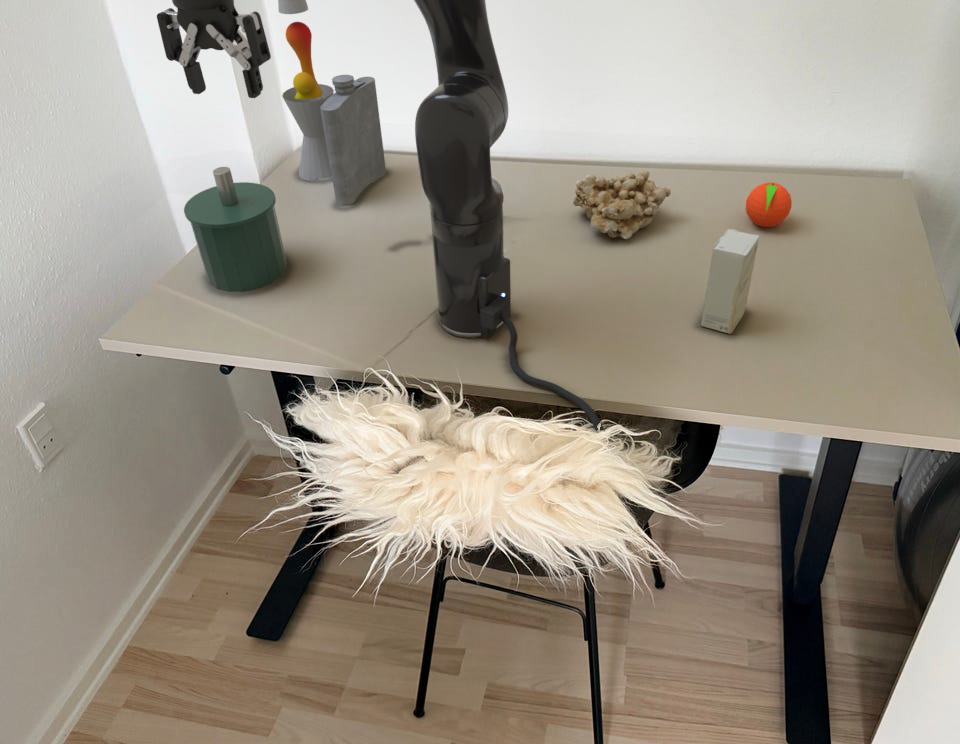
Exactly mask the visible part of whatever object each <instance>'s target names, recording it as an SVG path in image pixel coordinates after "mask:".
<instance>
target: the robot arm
mask: <svg viewBox="0 0 960 744" xmlns="http://www.w3.org/2000/svg"><path fill="white" fill-rule="evenodd" d="M171 2H172V4H173V6H174V7H175V8H176V10H177V11H176V10H175V9H174V8H172V7H169V8H167V9H164V10H163V11H161V12H158V13H157V14H156V19H157V23H158V28H159V29H158V30H159V32H160V36H161V41H162V45H163V49H164V54H165V57H166V59H167V60H168V61H170V62H172V61H175V62H178V63H179V64H180V66H182V68H183V72H184V75H185V78H186V82H187V86H188V87H189V89H190V90H191V92H192V93H193V94H194V95H200V94H203V92H205V91H206V89H207V86H206V82H205V78H204V75H203V71H202V66H201V63H200V61H197V60H198V59H199V55H200V52H201V50H205V51H206V50H210V49H212V50H215V51H225V52H226V53H227V55H228V56H230V57H231V58H234V59H235V60H236V61H237V63H238V64H239V65H240V66H241V67H242V68H243V69H242V71H241V73H242V76H243V81H244V85H245V88H246V92H247V97H248V98H249V99H256V98H258V97H259V96H260V95H261V94H262V91H263V90H264V84H263V79H262V75H261V71H260V66H262V65H263V64H265V63H267V62H268V61H270V60H271V58H272V55H271V52H270V47H269V43H268V40H267V35H266V32H265V29H264V25H263V20H262V16H261V14H260V13H259V12H258V11H255V10H254V11H252V12H250V13H248V14H247V13H245V14H239V12H238V11H237V9H236V6H235V0H171ZM413 2H414V3H415V5H416V7H417V9H418V11H419V13H420V15H422V17H423V20H424V21H425V24H426V26H427V29H428V31H429V35H430V39H431V42H432V47H433V52H434V58H435V66H436V71H437V82H438V85H437V87H436V88H435V89H434V90H433V91H431V92H430V93H429V94H428V95H427V96H426V97H425V98H424V99H423V100H422V101H421V103H420V104H419V106H418V108H417V111H416V116H415V120H414V137H415V146H416V153H417V162H418V169H419V174H420V183H421V186H422V187H421V188H422V191H423V193H424V195H425V197H426V199H427V201H428V203H429V212H430V224H431V237H432V238H431V239H432V247H433V249H432V250H433V259H434V260H433V261H434V271H435V272H434V273H435V283H436V294H437V306H438V323H439V325H440V327H441V328H442V329H443V330H444V331H445V332H447V333H448V334H450V335H452V336H456V337H460V338H465V339H466V338H467V339H472V338H484V339H486V340H488V339H490V338H491V337H492V336H494V334H495V333H497V331H499V330H500V329H501V328H502V327H503V326H504V325H505V327H506V328H507V330H508V331H509V336H510V337H509V339H510V340H509V344H508V354H509V355H508V356H509V363H510V367H511V369H512V371H513V372H514V374H515V375H516V376H517V377H518V378H520V379H521V380H522V381H524V382H526V383H528V384H530V385H533V386H536V387H541V388H544V389H546V390H550V391H552V392H554V393H555V394H558V395H559V396H561V397H563V398H565V399H566V400H568V401H569V402H571V403H573V404H575V405H576V406H577V407H579V408H580V410H582V411H583V412H584V413H585V415H586V416H587V418H588V419H589V421H590V422H591V424H592V426H593V427H594V430H595V431H596V432H597V430H598V428H597V425H598V424H599V423H600V422H601V420H600V418H599V417H598V415H597V414H596V412H595V411H594V409H593V408H592V407H591V406H590V405H589V404H588V403H587V402H586V401H585V400H583V398H581V397H579V396H578V395H576V394H574V393H572V392H571V391H569V390H568V389H565V388H564V387H561V386H560V385H559V384H556V383H554V382H551V381H548V380H545V379H541V378H537V377H534V376H531V375H529V374H528V373H526V372H525V371H524V370H523V369H522V368H521V367H520V366H519V364H518V363H519V362H518V357H517V342H518V332H517V328H516V326H515V324H514V323H513V321H512V320H511V318H512V291H511V289H512V288H511V283H512V282H511V259H510V258H508V257H505V253H504V251H505V250H504V206H503V204H504V196H503V197H502V192H503V189H502V186H501V184H500V183H499V181H497V180H496V178H495V179H494V178H493V177H492V167H491V164H492V163H491V148H492V147H493V145H494V144H495V143H496V142H497V141H498V140H499V139H500V138H501V136H502V134H503V133H504V131H505V129H506V127H507V123H508V119H509V101H508V97H507V96H508V95H507V92H506V88H505V84H504V80H503V76H502V72H501V69H500V64H499V59H498V57H497V53H496V49H495V45H494V41H493V37H492V33H491V29H490V24H489V18H488V11H487V3H486V0H413ZM180 27H181V29H182V30H183V31H184V32H185V33H186V35H185V37H184V40H183V39H182V35H181V30H180ZM240 28H241V31H240V30H239V29H240ZM243 33H244V34H245V35H244V34H243ZM245 36H246V37H245ZM234 42H235V43H236V44H234ZM600 430H604V431H605V428H604V426H603V424H602V423H601V427H600Z"/></svg>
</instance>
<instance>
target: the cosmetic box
mask: <svg viewBox="0 0 960 744" xmlns="http://www.w3.org/2000/svg"><path fill="white" fill-rule="evenodd" d="M759 239H760V235H758V234H755V233H750V232H746V231H743V230H737V229H732V228H727V229H726V230H725V232H723V234H722V235H721V236H720V238H719V239H718V240H717V242H716V243H715V245H714V246H713V248H712V252H711V258H710V265H709V270H708V277H707V283H706V289H705V297H704V303H703V308H702V309H703V310H702V315H701V322H700V326H701V327H703V328H708V329H711V330H714V331H718V332H722V333H726V334H729V335H731V334H732V333H733V332H734V330H735V329H736V327H737V325H738V324H739V323H740V321H741V320H742V317H743V316H744V315H745V312H746V309H747V308H746V307H747V303H748V297H749V292H750V287H751V282H752V276H753V272H754V265H755V260H756V257H757V251H758V246H759Z"/></svg>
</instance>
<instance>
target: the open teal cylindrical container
mask: <svg viewBox="0 0 960 744" xmlns="http://www.w3.org/2000/svg"><path fill="white" fill-rule="evenodd" d="M190 225H191V228H192V232H193V235H194V239H195V242H196V246H197V248H198V253H199V255H200V258H201V262H202V266H203V268H204V271H205V275H206V278H207V280H208V283H209V285H211V286H212V287H214V288H216V289H217V290H220V291H224V292H228V293H229V292H231V293H235V292H236V293H238V292H239V293H241V292H242V293H243V292H250V291H254V290H258V289H261V288H264V287H267V286H268V285H271V284H272V283H274V282H276V281H277V280H279V279H280V278H281V277H282V276H283V275H284V274H285V273H286V271H287V266H288V260H287V256H286V251H285V247H284V243H283V238H282V234H281V229H280V225H279V221H278V217H277V212H276V208H275V206H274V207H273V208H272V209H271V210H270V211H269V212H268V213H267V214H265V215H264V216H262V217H260V218H259V219H256V220H254V221H252V222H249V223H246V224H242V225H238V226H233V227H225V228H209V227H202V226H198V225H195V224H193V223H191V222H190Z"/></svg>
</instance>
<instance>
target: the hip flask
mask: <svg viewBox="0 0 960 744" xmlns="http://www.w3.org/2000/svg"><path fill="white" fill-rule="evenodd" d="M331 83H332V85H333V88H334V93H333V95H332V96H330V97H329V98H328V99H327V100H326V101H325V102H324V103H323V104H322V106H321V107H320V109H321V115H322V121H323V127H324V133H325V139H326V145H327V151H328V157H329V162H330V168H331V174H332V176H331V178H332V186H333V191H334V198H335V203H336V205H337V206H339V207H347V206H351V205H353V204H354V203H355V202H356V200H357V198H358V197H359V196H360V194H361V193H362V192H363V191H364V190H365V189H366V188H367V187H368V186H369V185H370V184H371V183H372V182H373V183H375V182H377V181H379V180H381V178H383V177H384V176H386V175H387V168H386V160H385V152H384V143H383V136H382V135H383V134H382V126H381V118H380V110H379V102H378V94H377V86H376V79H375V77H373V76H361V77H358V78H357V79H355V77H354V76H353V75H351V74H339V75H334V76H333V77H332V78H331Z"/></svg>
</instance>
